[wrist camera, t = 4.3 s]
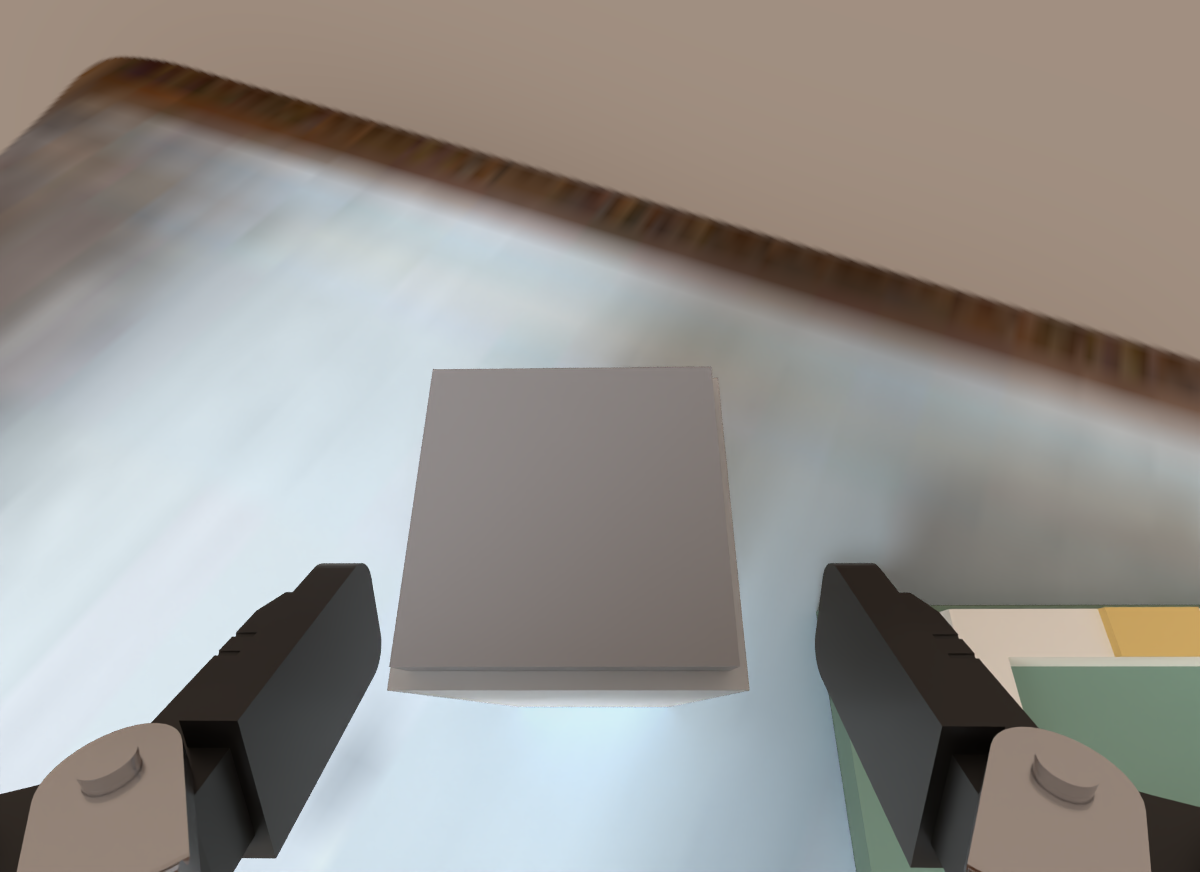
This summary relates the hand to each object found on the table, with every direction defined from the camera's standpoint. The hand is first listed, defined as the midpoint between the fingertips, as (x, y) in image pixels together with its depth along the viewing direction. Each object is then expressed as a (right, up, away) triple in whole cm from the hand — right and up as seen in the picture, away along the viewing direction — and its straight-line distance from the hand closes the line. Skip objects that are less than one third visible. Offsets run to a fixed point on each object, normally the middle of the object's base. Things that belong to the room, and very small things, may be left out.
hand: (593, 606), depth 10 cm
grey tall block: (0, -2, +6) cm, 6 cm away
